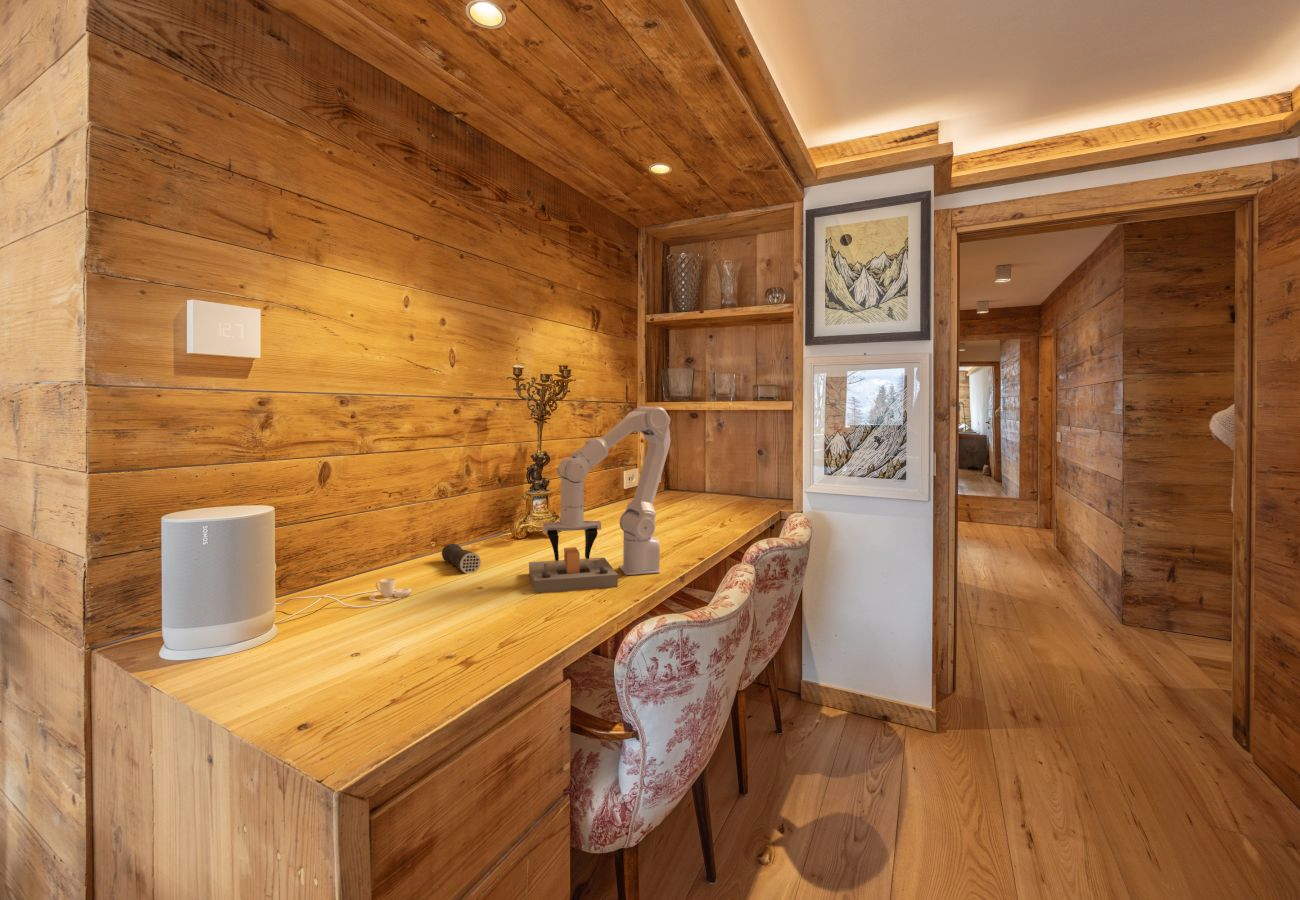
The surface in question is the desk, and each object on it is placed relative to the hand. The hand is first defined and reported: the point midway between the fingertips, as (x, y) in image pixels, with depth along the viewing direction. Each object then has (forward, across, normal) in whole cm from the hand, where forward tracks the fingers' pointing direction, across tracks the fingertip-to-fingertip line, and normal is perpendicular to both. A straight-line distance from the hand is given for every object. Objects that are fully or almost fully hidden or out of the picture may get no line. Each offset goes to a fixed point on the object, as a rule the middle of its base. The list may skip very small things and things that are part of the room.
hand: (571, 558), depth 143 cm
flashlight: (+6, +27, -19) cm, 34 cm away
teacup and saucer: (+6, +42, +5) cm, 42 cm away
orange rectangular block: (+3, 0, 0) cm, 3 cm away
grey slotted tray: (+5, 0, 0) cm, 5 cm away
